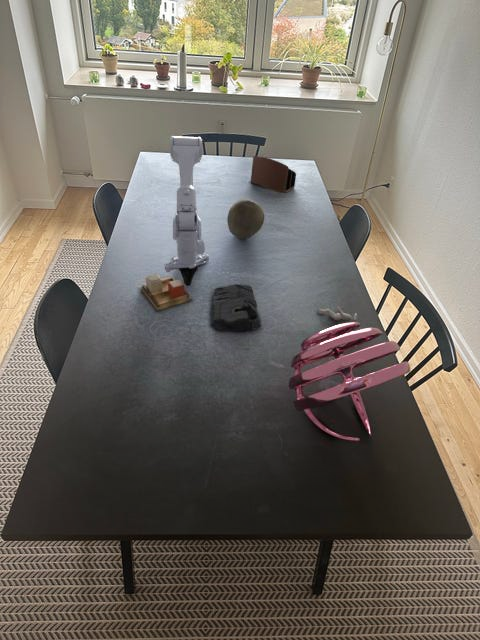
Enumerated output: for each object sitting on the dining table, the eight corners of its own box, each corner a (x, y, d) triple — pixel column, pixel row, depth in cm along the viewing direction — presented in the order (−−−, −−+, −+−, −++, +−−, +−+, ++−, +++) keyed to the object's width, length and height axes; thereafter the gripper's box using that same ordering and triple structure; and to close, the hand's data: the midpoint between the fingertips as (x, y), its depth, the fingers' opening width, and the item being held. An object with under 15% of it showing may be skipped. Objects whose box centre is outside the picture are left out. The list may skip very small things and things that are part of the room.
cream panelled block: (157, 284, 151) (157, 272, 148) (162, 291, 149) (162, 279, 146) (146, 288, 149) (145, 276, 146) (151, 294, 147) (150, 282, 144)
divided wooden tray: (173, 280, 156) (173, 275, 154) (190, 300, 147) (190, 295, 146) (141, 289, 150) (140, 284, 149) (157, 310, 142) (156, 305, 141)
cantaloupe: (242, 248, 175) (245, 213, 165) (219, 234, 182) (220, 199, 173) (268, 238, 182) (272, 203, 173) (245, 224, 190) (248, 190, 180)
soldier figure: (321, 309, 150) (359, 308, 145) (321, 324, 149) (358, 323, 144) (316, 305, 143) (355, 303, 138) (316, 320, 142) (355, 319, 137)
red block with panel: (179, 290, 150) (178, 278, 147) (184, 296, 147) (184, 284, 144) (168, 293, 148) (167, 281, 145) (173, 300, 145) (173, 288, 142)
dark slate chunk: (257, 290, 154) (259, 278, 151) (261, 332, 137) (262, 320, 134) (212, 288, 153) (213, 276, 150) (210, 331, 136) (210, 318, 133)
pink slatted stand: (455, 416, 91) (401, 293, 97) (327, 464, 89) (279, 335, 94) (403, 418, 119) (363, 322, 124) (304, 454, 116) (268, 355, 121)
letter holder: (284, 194, 216) (288, 165, 207) (250, 182, 224) (252, 154, 215) (294, 187, 223) (298, 159, 214) (260, 176, 231) (263, 148, 222)
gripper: (171, 259, 133) (172, 296, 141) (213, 248, 139) (212, 284, 148) (160, 248, 137) (162, 285, 146) (203, 238, 144) (202, 273, 152)
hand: (187, 284), depth 147 cm, fingers closed
